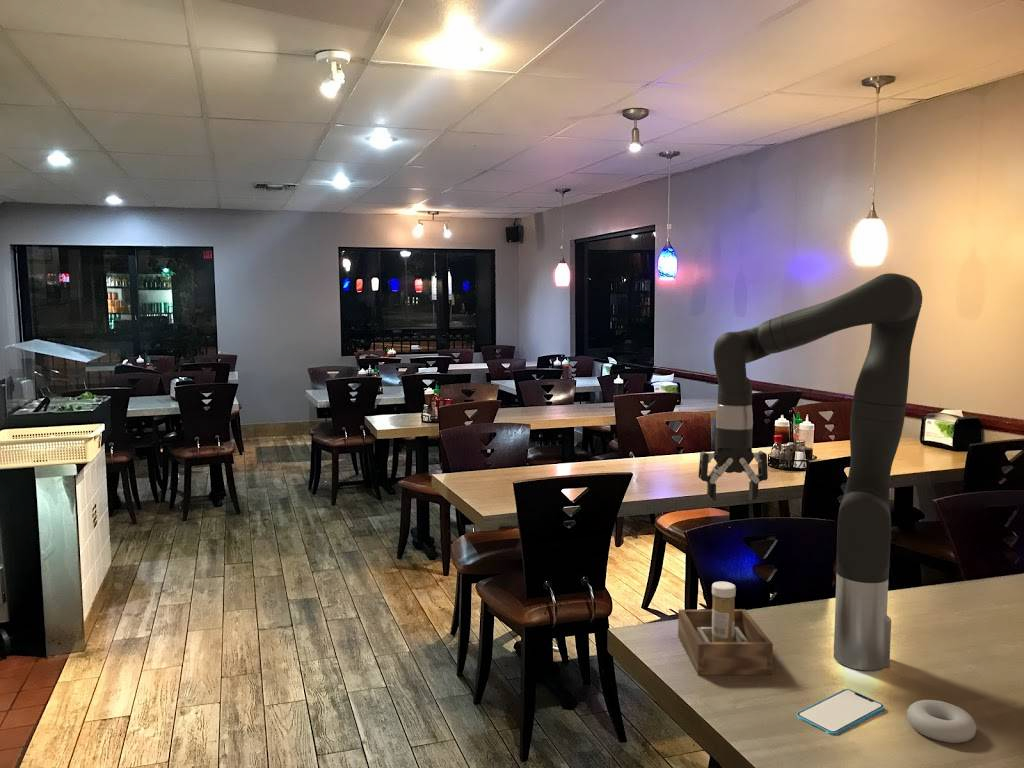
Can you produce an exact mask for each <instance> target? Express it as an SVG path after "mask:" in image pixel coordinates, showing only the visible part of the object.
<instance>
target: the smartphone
mask: <svg viewBox="0 0 1024 768" xmlns="http://www.w3.org/2000/svg"><path fill="white" fill-rule="evenodd" d="M884 711H885V705H884V704H883V703H882V702H880V701H877V700H875V699H873V698H870V697H869V696H866V695H863V694H862V693H859V692H857V691H856V690H855V691H854V690H852V689H850V688H845V689H842V690H840V691H838V692H836V693H833V694H832V695H829V696H828V697H826V698H824V699H822V700H820V701H819V700H818V702H816V703H814V704H811V705H809V706H807V707H806V708H804V709H800V710H799V711H797V712H796V718H798V719H799V720H801V721H802V722H805V723H807V724H809V725H811V726H814V727H815V728H816V729H818V730H820V731H822V732H824V733H827V734H828V735H833V736H837V735H839V734H841V733H843V732H845V731H847V730H849V729H851V728H853V727H855V726H857V725H859V724H861V723H862V722H865V721H867V720H869V719H871V718H873V717H875V716H877V715H879V714H881V713H883V712H884Z"/></svg>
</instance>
